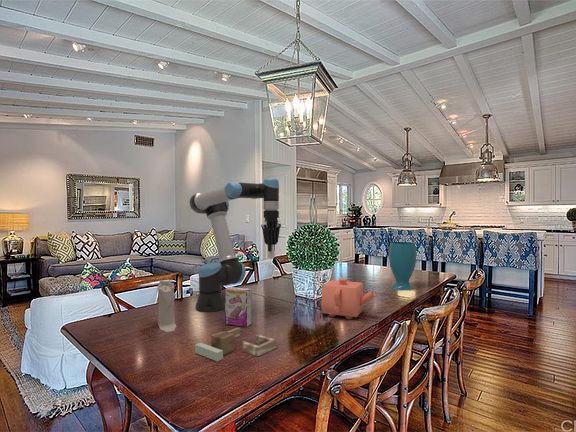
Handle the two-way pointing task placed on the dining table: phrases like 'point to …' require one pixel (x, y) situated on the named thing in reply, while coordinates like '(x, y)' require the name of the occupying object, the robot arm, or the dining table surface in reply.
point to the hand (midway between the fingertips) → (271, 257)
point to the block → (223, 341)
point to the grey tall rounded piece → (166, 306)
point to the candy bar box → (238, 306)
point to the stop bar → (209, 351)
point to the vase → (402, 263)
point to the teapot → (344, 298)
